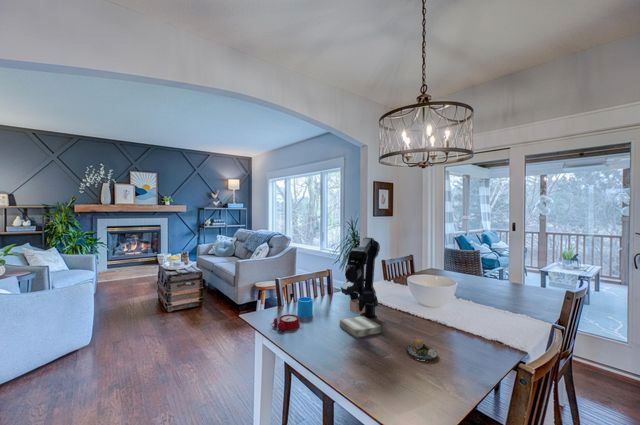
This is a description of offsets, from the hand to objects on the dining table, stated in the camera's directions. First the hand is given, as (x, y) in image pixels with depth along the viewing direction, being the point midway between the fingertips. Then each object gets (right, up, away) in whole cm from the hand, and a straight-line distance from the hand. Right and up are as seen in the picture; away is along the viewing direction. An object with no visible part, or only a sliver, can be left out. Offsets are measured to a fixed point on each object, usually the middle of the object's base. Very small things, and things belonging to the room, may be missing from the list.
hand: (357, 309), depth 136 cm
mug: (-26, -10, +22) cm, 36 cm away
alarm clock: (-34, -10, +4) cm, 36 cm away
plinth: (+2, -11, +3) cm, 11 cm away
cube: (0, -1, 0) cm, 1 cm away
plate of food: (+23, -12, -20) cm, 33 cm away
